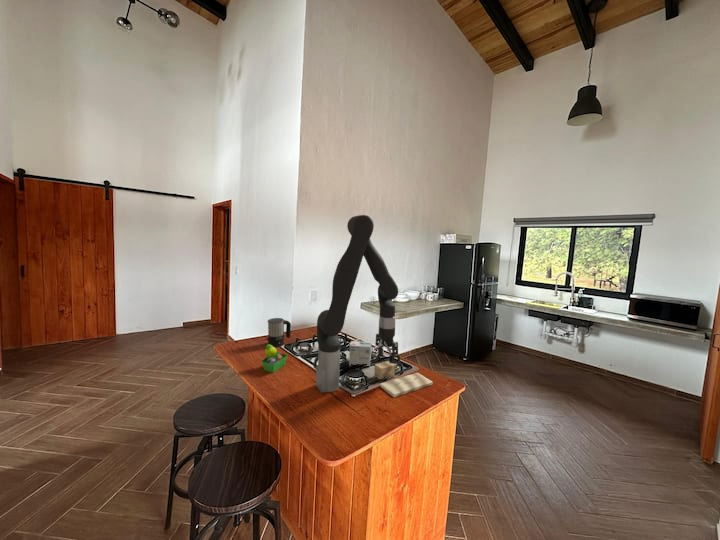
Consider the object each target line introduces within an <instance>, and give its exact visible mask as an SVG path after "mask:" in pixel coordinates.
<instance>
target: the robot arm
mask: <svg viewBox="0 0 720 540" xmlns="http://www.w3.org/2000/svg"><path fill="white" fill-rule="evenodd" d="M347 231H348V233H349V234H350V236H351V237H350V241H349V244H348V246H347V248H346V250H345V252H344V253H343V255H342V256H341V258H340V259H339V261H338V263H337V265H336V269H335V271H334V275H333V278H332V289H331V290H332V292H331V293H332V294H331V295H332V296H331V302H330V305H329V308H328V309H325V310H323V311H322V312H320V314H319V315H318V316H317V320H316V321H317V322H316V341H317V345H318V350H317V351H318V357H317V359H318V360H317V365H316V366H315V367H316V368H315V369H316V370H315V387H316V388H317V389H318V390H319V391H320V393H333V392H336V391H337V390H338V389H339V388H340V372H341V371H340V368H341V366H340V365H341V341H340V339H339V334H340V333H341V332H342V330H343V328H344V325H345V320H346V315H347V311H348V307H349V303H350V300H351V296H352V293H353V290H354V286H355V283H356V281H357V277H358V274H359V272H360V267H361V264H362V261H363V257H364V259H365V261H366V265H368V268H369V270H370V272H371V274H372V277H373V279H374V280H375V281H376V282H377V283H378V287H377V297H378V303H379V317H378V333H376V334H375V346H376V347H377V352H378V353H377V354H378V356H379V357H382V356H384V347H385V349H386V350H387V352H388V353H389V356H388V357H389V359H388V361H389V363H393V364H395V363H394V362H395V358H396V357H395V356H398V355H399V342H398V341H394V338H395V335H396V305H395V304H394V302H393V300H394V299H396V298H397V297H398V294H399V288H398V285H397V283H396V281H395V280H394V278H393V277H392V276H391V274H390V272H389V270H388V268H387V265H386V263H385V261H384V258H383V257H382V255H381V254H380V252H379V251H378V249H377V248H376V247H375V245H374V244H373V243H372V240H371V237H372V234H373V232H374V221H373V219H372V217H370V216H369V215H367V214H359V215H355V216H352V217H350V219H349V220H348V222H347Z"/></svg>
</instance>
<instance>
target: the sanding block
mask: <svg viewBox="0 0 720 540" xmlns="http://www.w3.org/2000/svg"><path fill="white" fill-rule="evenodd" d="M395 375H396V364H395V363H389V360H386V361H383V362H379V363H378V362H377V363H376V364H374V377H375V376H376V377H377V378H380V379H381V378H384V377H385V376H386V377H393V378H395V377H394V376H395ZM376 377H375V378H376ZM377 378H376V379H377Z"/></svg>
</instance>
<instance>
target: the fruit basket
mask: <svg viewBox="0 0 720 540" xmlns="http://www.w3.org/2000/svg"><path fill="white" fill-rule="evenodd" d="M264 354H265V355H264V356H265V358H263V359H261V361H260V362H261V363H262V367H263V370H264V371H265V372H270V373H274V372H277V371H278V370H279V369H281V368H282V367H284V366H285V365H286V362H287V361H286V360H287V359H288V354H285V353H282V352H278V350H277V347H273V346H272V345H270V344H268V343H267V345H266V346H265V353H264Z"/></svg>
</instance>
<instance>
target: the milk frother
mask: <svg viewBox="0 0 720 540" xmlns="http://www.w3.org/2000/svg"><path fill="white" fill-rule="evenodd" d="M285 325H286V326H285ZM285 327H286V328H285ZM285 329H286V330H285ZM291 329H292V323H291V322H290V321H289V320H286V319H284V318H281V317H275V318H274V317H273V318H269V319H268V320H267V331H268V332H267V333H268V335H267V336H268V337H267V342H268V343H267V345H268V344H270V345H272V346H273V347H275V348H280V347H282V346H284V344H285V337H286V338H288V339H289V338H291Z"/></svg>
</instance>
